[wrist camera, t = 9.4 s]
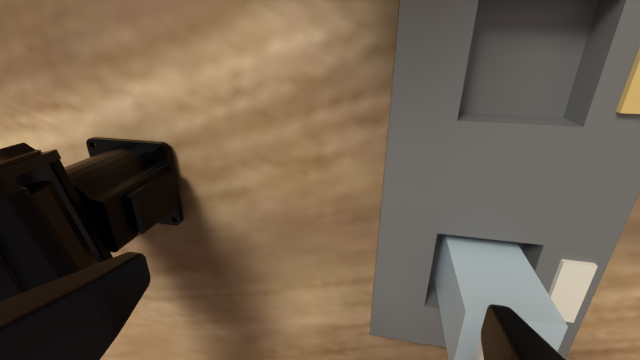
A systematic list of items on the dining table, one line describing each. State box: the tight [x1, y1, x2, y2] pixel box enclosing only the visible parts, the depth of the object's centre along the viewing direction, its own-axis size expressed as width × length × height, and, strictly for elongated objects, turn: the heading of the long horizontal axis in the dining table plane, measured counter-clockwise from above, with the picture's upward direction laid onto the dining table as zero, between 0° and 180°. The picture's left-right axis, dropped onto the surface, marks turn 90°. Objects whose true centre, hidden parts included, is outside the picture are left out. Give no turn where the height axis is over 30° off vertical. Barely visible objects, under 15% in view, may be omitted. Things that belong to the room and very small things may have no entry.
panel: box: [370, 0, 640, 359], centre depth 18 cm, size 12×24×3 cm, turn 179°
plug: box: [434, 234, 568, 360], centre depth 18 cm, size 4×4×8 cm
